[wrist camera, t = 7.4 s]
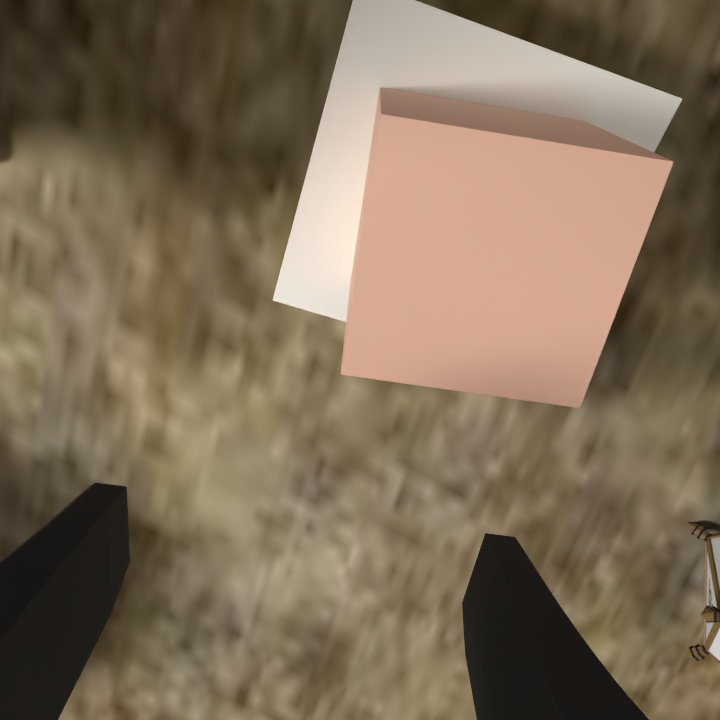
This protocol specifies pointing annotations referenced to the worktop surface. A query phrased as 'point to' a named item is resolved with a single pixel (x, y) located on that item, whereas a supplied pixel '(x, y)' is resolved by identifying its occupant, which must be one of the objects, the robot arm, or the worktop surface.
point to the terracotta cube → (493, 247)
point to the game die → (709, 596)
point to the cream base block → (440, 79)
